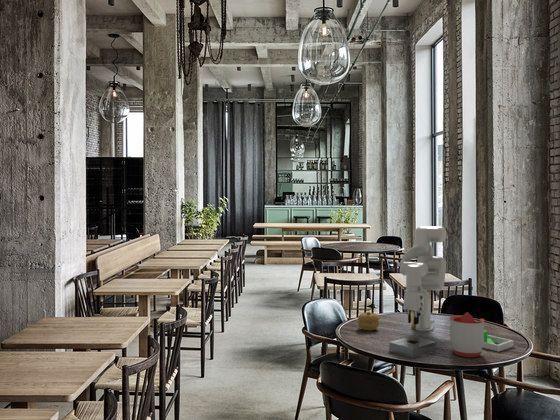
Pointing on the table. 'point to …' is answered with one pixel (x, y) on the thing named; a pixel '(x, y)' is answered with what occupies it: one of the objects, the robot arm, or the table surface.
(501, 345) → the frame
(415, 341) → the base block
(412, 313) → the brass pin
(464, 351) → the citrus juicer
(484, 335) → the mechanical part
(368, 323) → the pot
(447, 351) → the table surface
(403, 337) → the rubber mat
